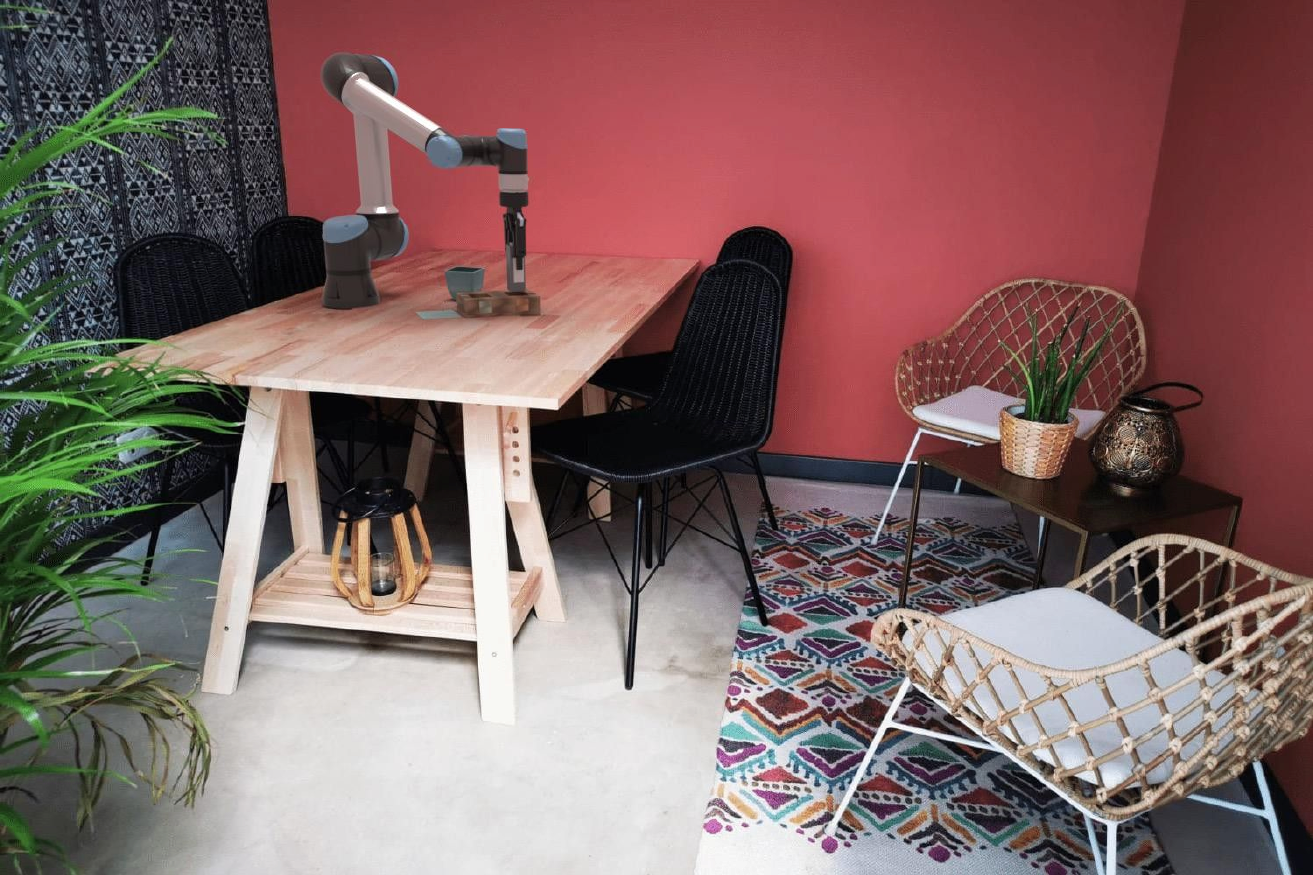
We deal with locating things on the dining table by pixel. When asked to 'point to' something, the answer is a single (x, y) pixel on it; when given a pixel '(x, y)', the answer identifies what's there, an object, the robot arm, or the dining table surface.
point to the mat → (438, 314)
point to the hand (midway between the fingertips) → (516, 280)
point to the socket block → (498, 303)
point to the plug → (509, 264)
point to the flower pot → (464, 280)
